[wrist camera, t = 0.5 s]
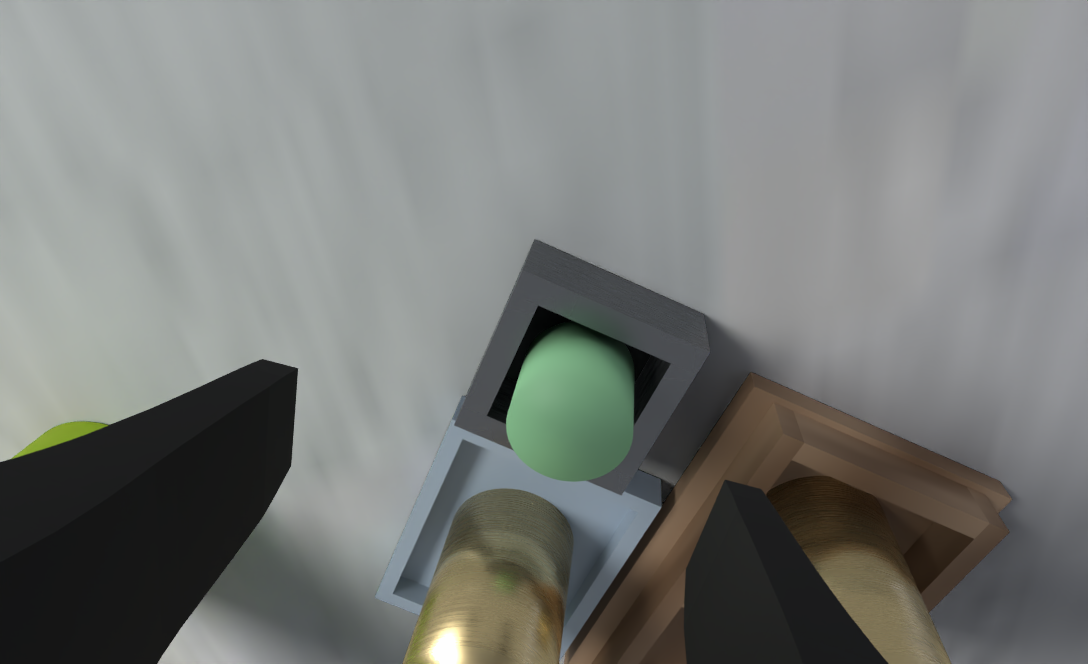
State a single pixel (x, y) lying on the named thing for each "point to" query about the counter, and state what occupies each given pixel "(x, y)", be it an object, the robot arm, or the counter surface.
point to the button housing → (610, 311)
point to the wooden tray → (765, 462)
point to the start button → (573, 404)
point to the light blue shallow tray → (480, 465)
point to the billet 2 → (860, 565)
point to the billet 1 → (497, 584)
